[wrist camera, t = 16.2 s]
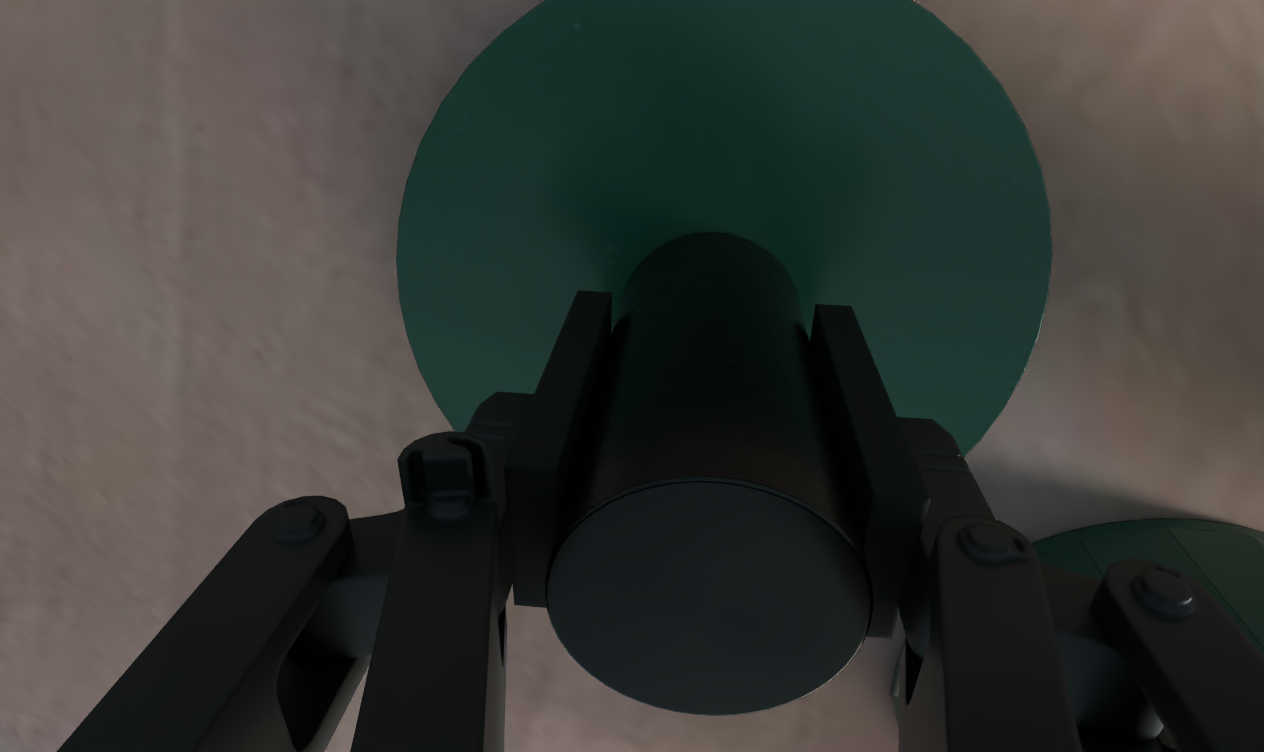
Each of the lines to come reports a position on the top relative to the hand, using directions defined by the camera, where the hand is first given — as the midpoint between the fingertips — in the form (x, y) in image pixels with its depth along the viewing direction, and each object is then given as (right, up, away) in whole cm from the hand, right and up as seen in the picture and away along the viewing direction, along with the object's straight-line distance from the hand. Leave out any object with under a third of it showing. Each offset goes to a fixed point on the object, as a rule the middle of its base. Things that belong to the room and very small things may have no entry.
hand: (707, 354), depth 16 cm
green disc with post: (0, +1, +2) cm, 3 cm away
